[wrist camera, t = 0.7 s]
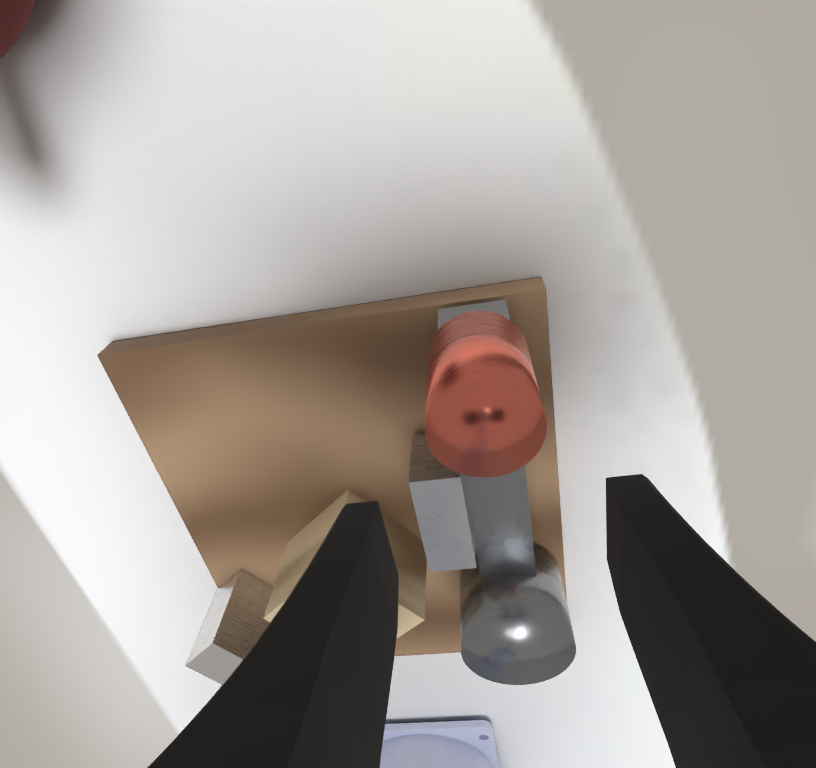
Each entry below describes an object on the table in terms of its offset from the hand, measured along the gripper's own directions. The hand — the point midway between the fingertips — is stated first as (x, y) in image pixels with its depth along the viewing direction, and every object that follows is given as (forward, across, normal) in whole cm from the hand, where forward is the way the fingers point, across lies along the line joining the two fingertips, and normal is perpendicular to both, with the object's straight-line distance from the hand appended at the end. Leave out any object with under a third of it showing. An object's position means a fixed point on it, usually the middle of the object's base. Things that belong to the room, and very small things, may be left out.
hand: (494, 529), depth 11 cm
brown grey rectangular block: (+9, +10, +12) cm, 18 cm away
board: (+9, +5, +8) cm, 13 cm away
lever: (+8, 0, +6) cm, 10 cm away
